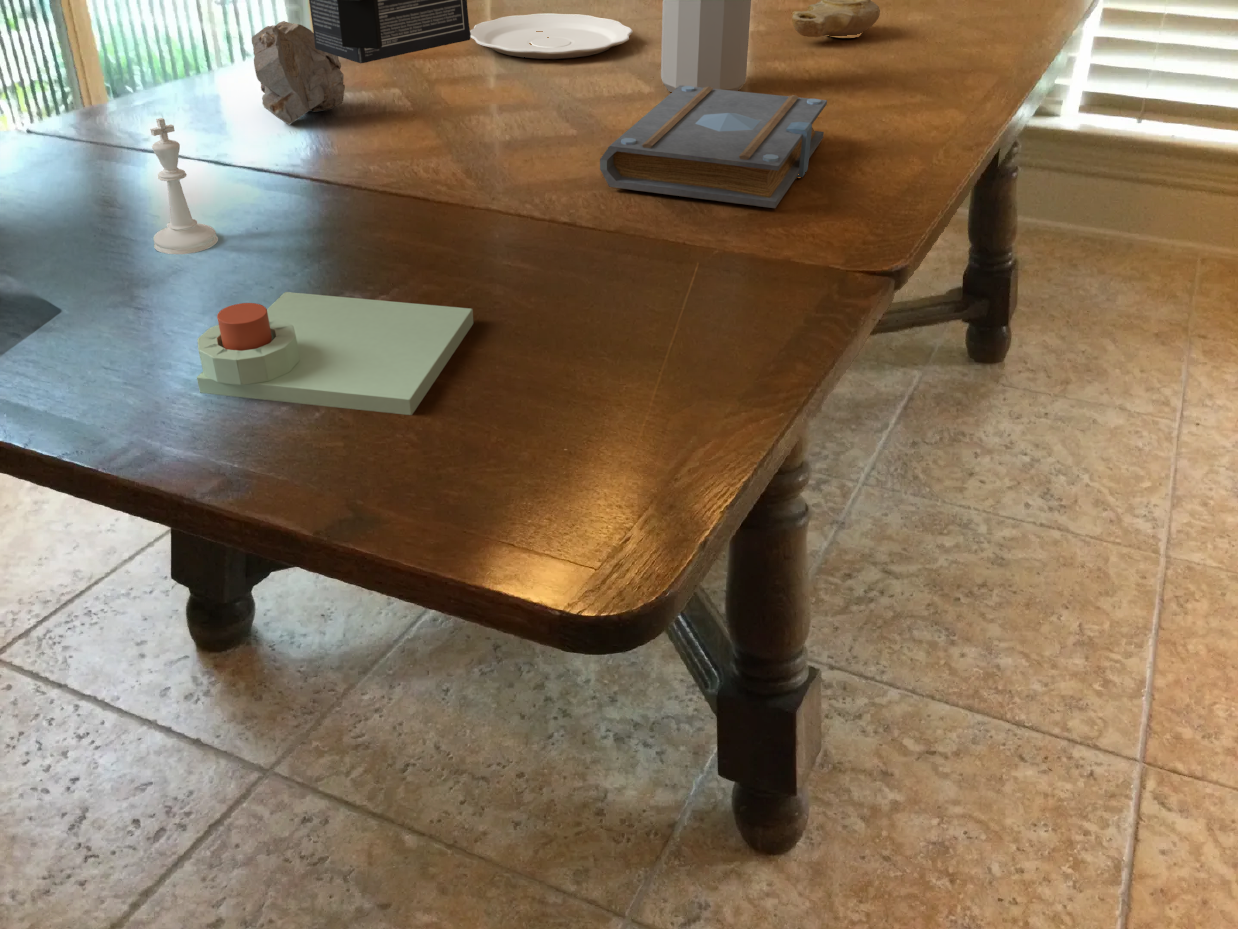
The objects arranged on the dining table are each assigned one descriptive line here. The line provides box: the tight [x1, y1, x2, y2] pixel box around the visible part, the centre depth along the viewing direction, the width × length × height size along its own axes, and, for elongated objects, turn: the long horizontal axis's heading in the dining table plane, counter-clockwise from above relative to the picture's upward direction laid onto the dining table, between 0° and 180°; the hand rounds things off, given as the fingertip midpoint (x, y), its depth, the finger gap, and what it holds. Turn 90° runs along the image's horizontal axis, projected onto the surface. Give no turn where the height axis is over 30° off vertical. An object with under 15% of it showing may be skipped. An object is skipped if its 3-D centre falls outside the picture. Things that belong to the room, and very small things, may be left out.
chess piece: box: [150, 117, 219, 255], centre depth 91 cm, size 5×5×10 cm
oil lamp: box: [791, 0, 881, 38], centre depth 152 cm, size 11×14×5 cm
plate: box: [470, 12, 633, 60], centre depth 149 cm, size 21×21×2 cm
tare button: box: [216, 302, 272, 351], centre depth 72 cm, size 3×3×2 cm
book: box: [599, 85, 828, 209], centre depth 109 cm, size 21×16×5 cm
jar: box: [660, 0, 752, 93], centre depth 127 cm, size 10×10×18 cm
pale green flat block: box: [196, 291, 474, 416], centre depth 76 cm, size 14×13×3 cm
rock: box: [251, 20, 346, 125], centre depth 120 cm, size 9×12×10 cm
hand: (391, 27), depth 88 cm, fingers closed on small box, 12 cm apart
